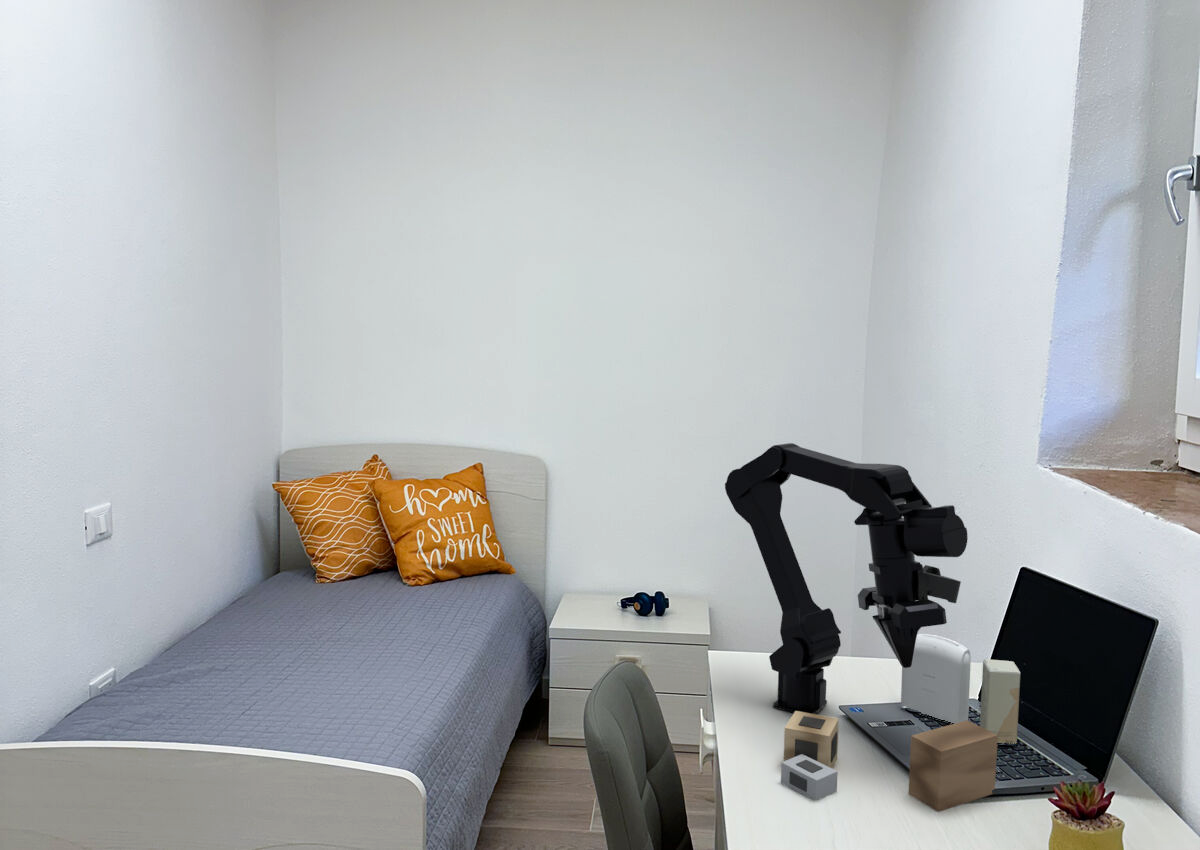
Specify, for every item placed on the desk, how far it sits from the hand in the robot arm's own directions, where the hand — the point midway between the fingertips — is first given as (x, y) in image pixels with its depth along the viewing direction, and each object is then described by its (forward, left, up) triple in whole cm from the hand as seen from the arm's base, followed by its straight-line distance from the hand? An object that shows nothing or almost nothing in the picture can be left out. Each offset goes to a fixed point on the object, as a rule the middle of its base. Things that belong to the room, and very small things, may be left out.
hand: (906, 667), depth 137 cm
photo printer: (0, +14, -12) cm, 19 cm away
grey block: (-7, -18, -12) cm, 23 cm away
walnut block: (+9, -9, -12) cm, 18 cm away
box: (+10, +11, -12) cm, 20 cm away
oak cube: (-9, -12, -12) cm, 19 cm away
